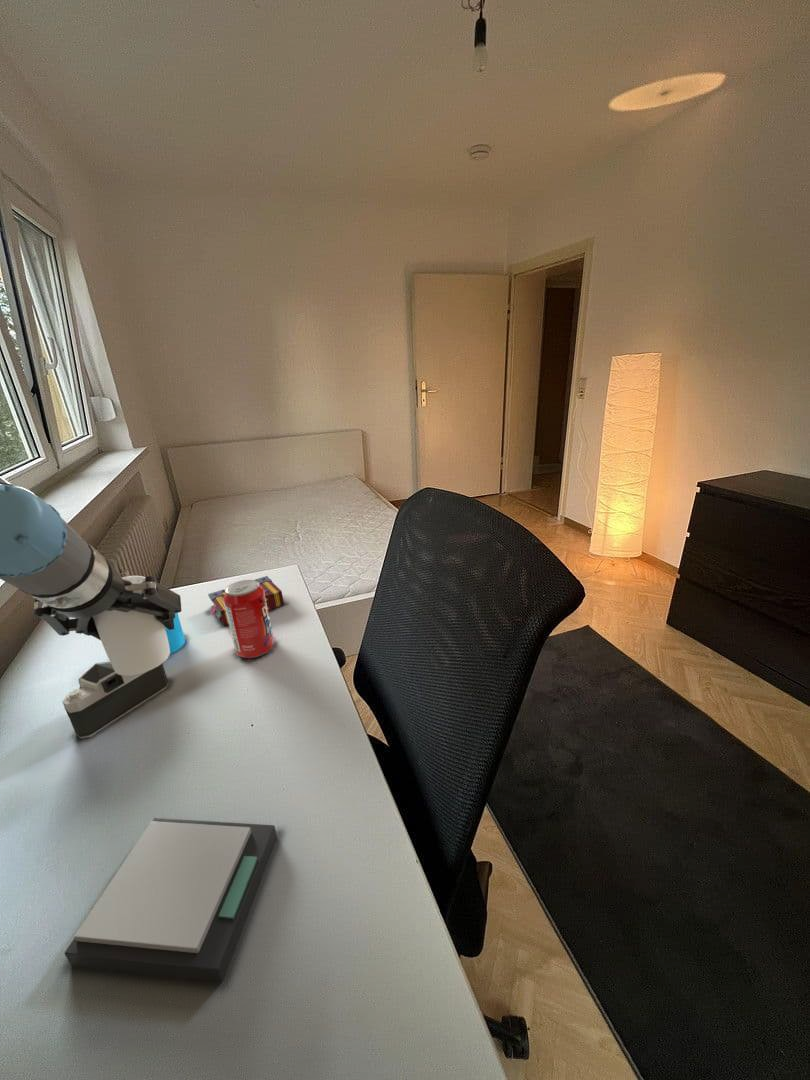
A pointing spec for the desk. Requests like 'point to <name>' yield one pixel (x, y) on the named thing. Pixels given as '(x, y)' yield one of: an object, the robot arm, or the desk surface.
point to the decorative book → (271, 595)
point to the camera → (109, 696)
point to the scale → (177, 900)
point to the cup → (132, 638)
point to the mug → (175, 635)
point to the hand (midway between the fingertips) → (140, 627)
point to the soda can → (248, 618)
